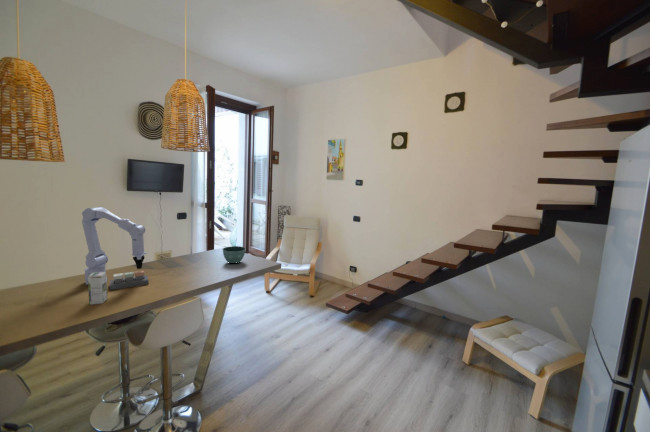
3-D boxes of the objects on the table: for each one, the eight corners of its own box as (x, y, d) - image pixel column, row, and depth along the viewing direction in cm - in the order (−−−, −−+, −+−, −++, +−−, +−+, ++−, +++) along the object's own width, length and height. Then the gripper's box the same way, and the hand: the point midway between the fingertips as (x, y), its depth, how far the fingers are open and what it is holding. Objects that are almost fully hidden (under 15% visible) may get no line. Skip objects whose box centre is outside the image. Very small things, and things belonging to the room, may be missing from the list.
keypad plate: (110, 290, 155) (109, 285, 155) (110, 284, 163) (110, 280, 163) (148, 284, 165) (148, 279, 165) (147, 278, 173) (147, 275, 173)
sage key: (124, 282, 161) (124, 275, 160) (124, 280, 164) (124, 272, 164) (134, 281, 163) (133, 273, 163) (133, 279, 167) (133, 271, 166)
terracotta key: (135, 281, 164) (135, 273, 163) (135, 278, 167) (134, 271, 167) (144, 279, 166) (144, 272, 166) (143, 277, 170) (143, 270, 169)
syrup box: (93, 300, 142) (91, 272, 140) (108, 298, 144) (106, 271, 142) (89, 304, 137) (86, 276, 135) (103, 303, 139) (101, 275, 137)
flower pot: (247, 259, 221) (247, 246, 219) (242, 266, 205) (242, 251, 203) (226, 259, 220) (226, 246, 218) (220, 265, 204) (219, 251, 202)
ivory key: (114, 284, 158) (113, 276, 157) (114, 282, 161) (113, 274, 161) (123, 283, 160) (123, 275, 160) (123, 280, 164) (123, 273, 163)
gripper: (147, 247, 161) (148, 270, 163) (145, 242, 173) (146, 264, 174) (132, 249, 157) (133, 272, 159) (131, 244, 169) (132, 266, 170)
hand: (139, 268), depth 166 cm, fingers closed
